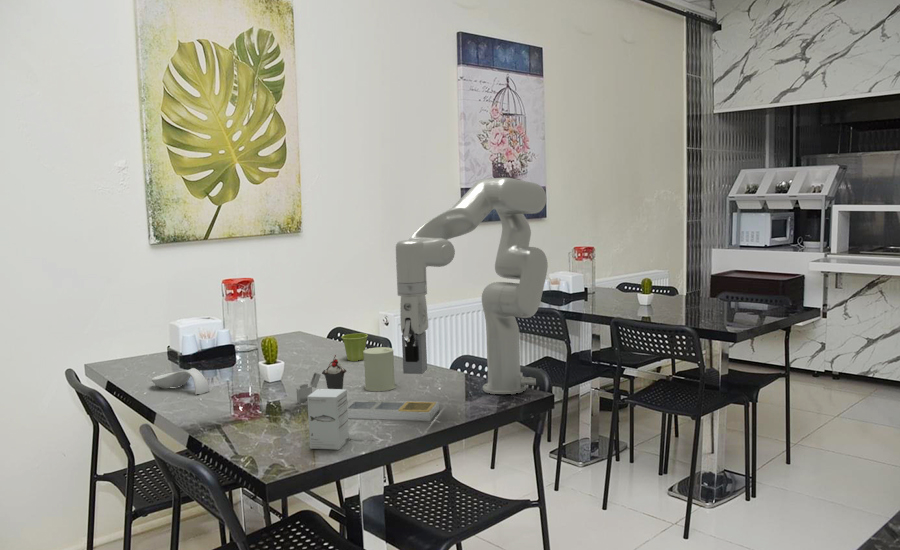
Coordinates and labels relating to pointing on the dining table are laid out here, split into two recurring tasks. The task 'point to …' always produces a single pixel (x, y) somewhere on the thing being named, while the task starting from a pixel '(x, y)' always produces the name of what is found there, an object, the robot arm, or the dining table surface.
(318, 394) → the supplement box
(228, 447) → the dining table surface
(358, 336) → the plant pot
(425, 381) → the dining table surface
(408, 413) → the gray compartment tray
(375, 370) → the can
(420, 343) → the gray rectangular block
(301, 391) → the lighter
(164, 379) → the spoon rest
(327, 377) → the sundae
